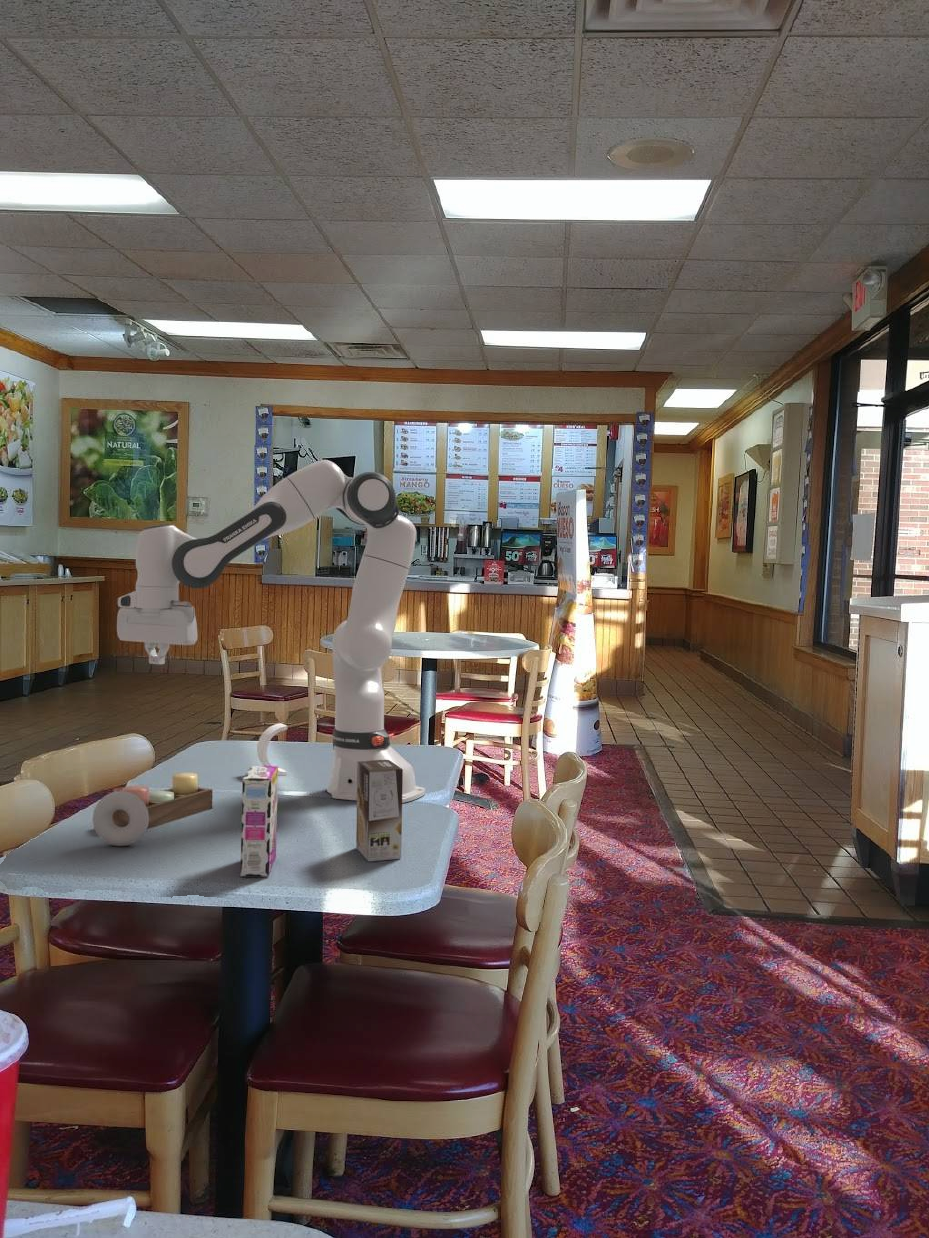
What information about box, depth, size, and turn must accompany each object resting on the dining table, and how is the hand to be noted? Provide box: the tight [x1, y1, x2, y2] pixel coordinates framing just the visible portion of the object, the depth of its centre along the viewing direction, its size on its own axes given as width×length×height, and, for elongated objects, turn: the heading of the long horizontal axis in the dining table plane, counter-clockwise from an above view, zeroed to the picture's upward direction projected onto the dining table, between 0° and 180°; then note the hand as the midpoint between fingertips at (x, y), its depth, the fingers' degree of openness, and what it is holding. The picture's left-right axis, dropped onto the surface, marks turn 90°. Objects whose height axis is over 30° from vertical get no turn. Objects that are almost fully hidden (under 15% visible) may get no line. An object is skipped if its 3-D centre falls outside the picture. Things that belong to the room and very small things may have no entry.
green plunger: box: [149, 790, 174, 802], centre depth 193 cm, size 5×5×4 cm
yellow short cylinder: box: [171, 772, 199, 795], centre depth 199 cm, size 5×5×4 cm
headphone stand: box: [256, 723, 288, 777], centre depth 234 cm, size 5×6×12 cm
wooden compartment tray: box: [112, 786, 213, 830], centre depth 193 cm, size 8×21×4 cm, turn 153°
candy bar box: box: [239, 765, 279, 878], centre depth 163 cm, size 11×5×16 cm, turn 5°
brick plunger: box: [121, 785, 150, 807], centre depth 187 cm, size 5×5×4 cm
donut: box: [92, 790, 149, 847], centre depth 173 cm, size 10×4×10 cm, turn 90°
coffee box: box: [355, 760, 403, 862], centre depth 172 cm, size 9×6×16 cm
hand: (156, 663), depth 208 cm, fingers closed
